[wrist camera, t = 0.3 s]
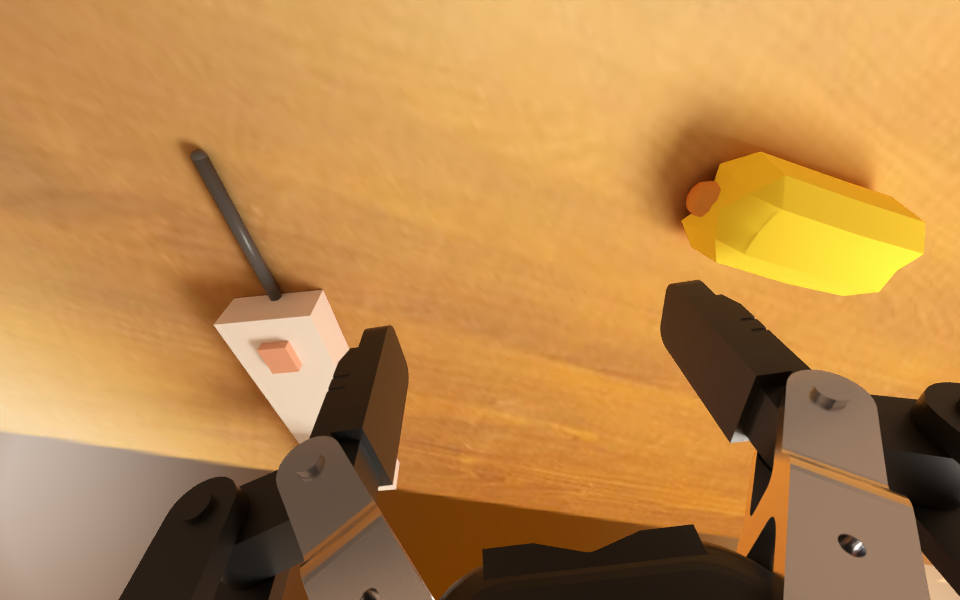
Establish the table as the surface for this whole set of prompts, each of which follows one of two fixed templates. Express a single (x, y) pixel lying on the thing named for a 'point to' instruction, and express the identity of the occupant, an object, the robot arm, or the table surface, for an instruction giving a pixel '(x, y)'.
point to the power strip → (279, 330)
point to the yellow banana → (801, 226)
